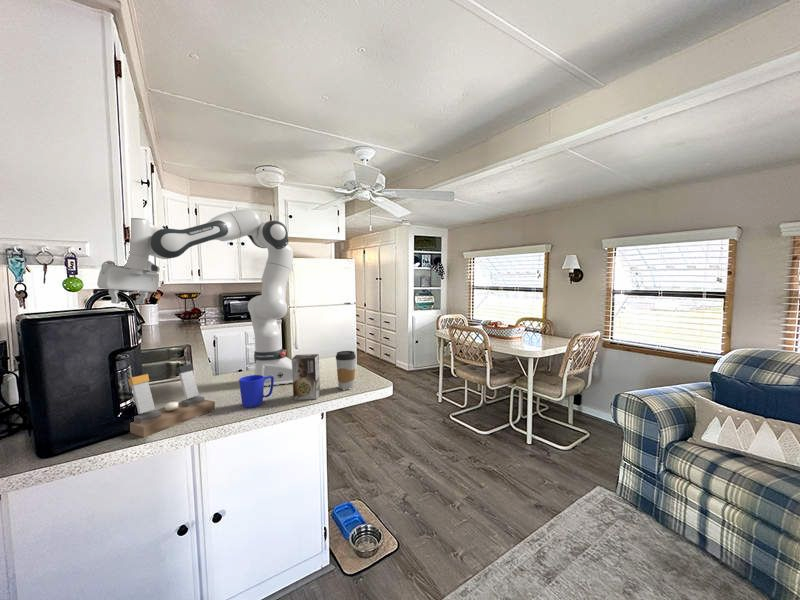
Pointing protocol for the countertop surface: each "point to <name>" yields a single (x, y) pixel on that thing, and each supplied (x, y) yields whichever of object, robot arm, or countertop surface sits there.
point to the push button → (171, 406)
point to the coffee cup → (345, 369)
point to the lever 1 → (142, 393)
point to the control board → (170, 416)
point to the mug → (253, 389)
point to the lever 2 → (187, 380)
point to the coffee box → (305, 376)
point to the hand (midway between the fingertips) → (128, 303)
